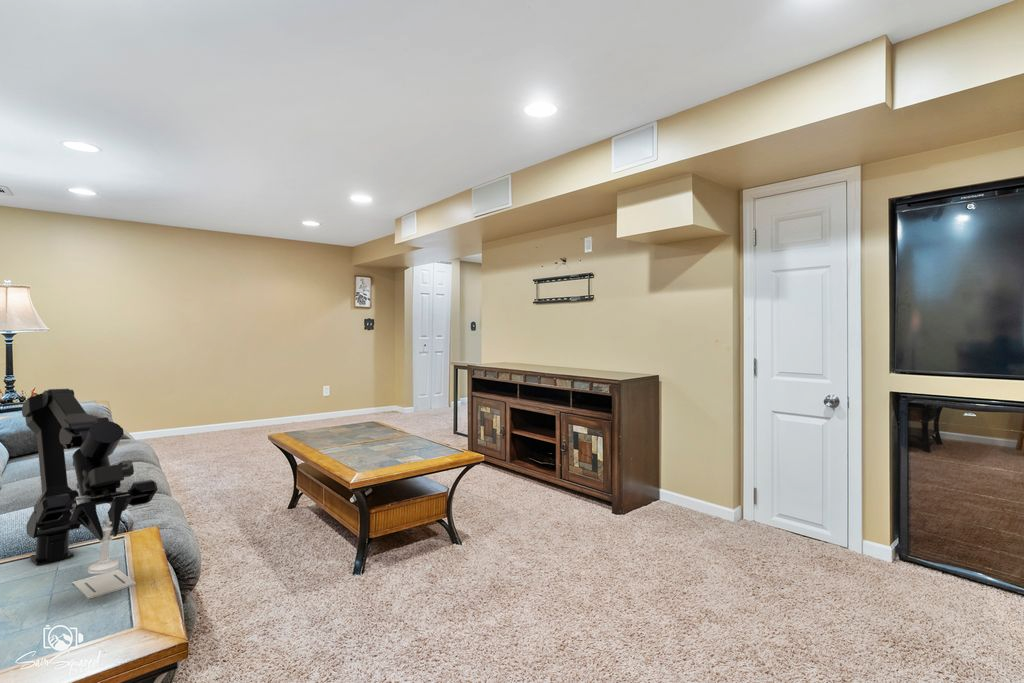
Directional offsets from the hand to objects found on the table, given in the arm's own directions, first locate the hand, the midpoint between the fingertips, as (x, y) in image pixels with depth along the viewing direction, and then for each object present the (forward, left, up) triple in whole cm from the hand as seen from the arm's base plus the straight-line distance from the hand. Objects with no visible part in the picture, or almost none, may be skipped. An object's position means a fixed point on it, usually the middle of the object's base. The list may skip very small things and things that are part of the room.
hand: (108, 537), depth 99 cm
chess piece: (-1, 0, -7) cm, 7 cm away
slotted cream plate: (-9, +2, -13) cm, 16 cm away
